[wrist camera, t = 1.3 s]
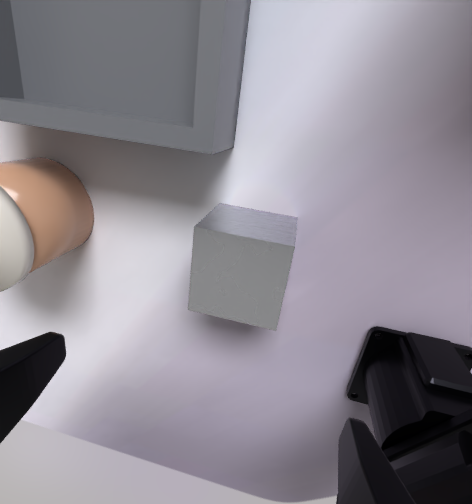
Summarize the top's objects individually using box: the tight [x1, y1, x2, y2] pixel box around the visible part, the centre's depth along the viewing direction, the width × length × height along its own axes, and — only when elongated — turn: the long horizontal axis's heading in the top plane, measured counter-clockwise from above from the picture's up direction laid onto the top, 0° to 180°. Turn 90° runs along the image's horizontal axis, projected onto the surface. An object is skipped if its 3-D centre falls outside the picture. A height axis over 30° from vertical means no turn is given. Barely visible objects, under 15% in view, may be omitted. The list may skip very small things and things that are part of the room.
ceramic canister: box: [0, 158, 94, 292], centre depth 19 cm, size 7×7×7 cm
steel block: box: [188, 203, 298, 331], centre depth 18 cm, size 5×5×5 cm
